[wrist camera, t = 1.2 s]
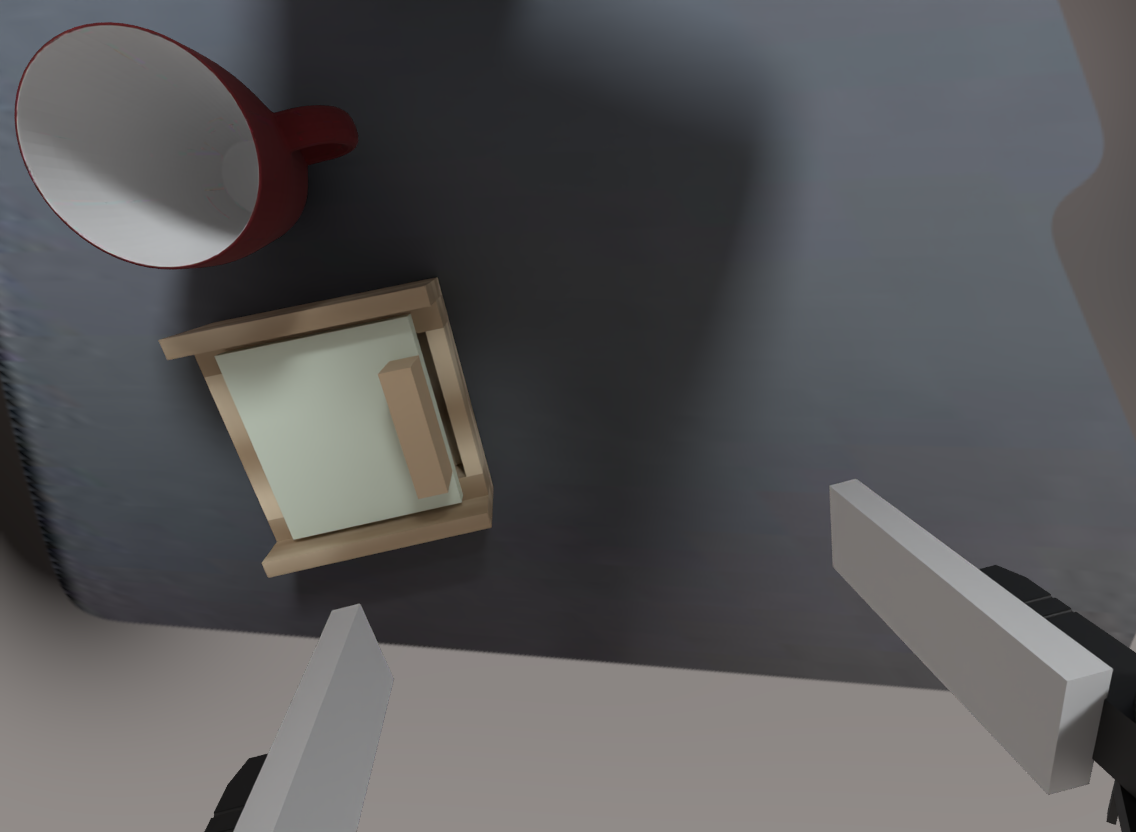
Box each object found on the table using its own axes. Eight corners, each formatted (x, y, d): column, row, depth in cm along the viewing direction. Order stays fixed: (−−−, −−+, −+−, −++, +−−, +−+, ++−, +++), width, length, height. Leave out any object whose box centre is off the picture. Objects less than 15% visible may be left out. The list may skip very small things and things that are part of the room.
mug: (327, 42, 27) (231, -59, 17) (409, 199, 30) (365, 185, 20) (143, 135, 27) (-46, 85, 18) (241, 282, 30) (122, 306, 21)
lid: (224, 352, 28) (184, 369, 25) (410, 313, 29) (397, 325, 25) (299, 530, 32) (274, 567, 29) (463, 494, 33) (458, 526, 29)
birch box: (213, 322, 31) (158, 340, 26) (437, 276, 31) (425, 285, 26) (300, 529, 35) (268, 577, 30) (493, 486, 36) (491, 527, 31)
